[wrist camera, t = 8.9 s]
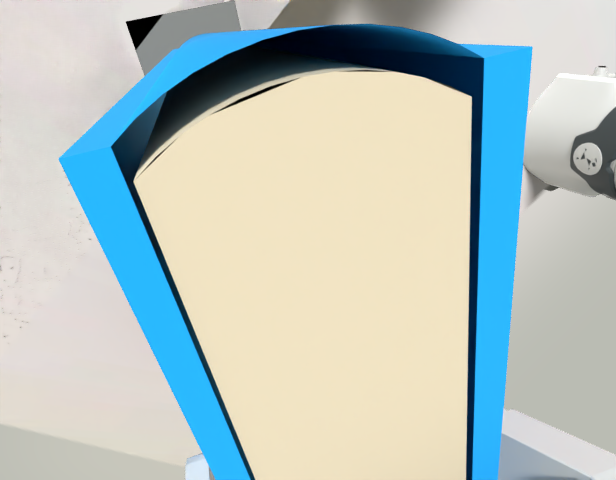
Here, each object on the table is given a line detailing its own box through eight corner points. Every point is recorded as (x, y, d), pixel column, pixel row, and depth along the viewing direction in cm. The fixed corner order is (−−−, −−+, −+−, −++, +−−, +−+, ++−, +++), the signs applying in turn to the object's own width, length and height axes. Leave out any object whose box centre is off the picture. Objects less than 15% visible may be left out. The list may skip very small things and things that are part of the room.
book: (289, 259, 33) (492, 685, 12) (236, 274, 32) (349, 757, 11) (234, 21, 25) (601, -32, 3) (161, 36, 24) (9, 93, 3)
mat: (233, 0, 39) (234, 0, 38) (278, 193, 49) (278, 194, 48) (126, 21, 37) (125, 21, 37) (194, 216, 47) (194, 217, 47)
